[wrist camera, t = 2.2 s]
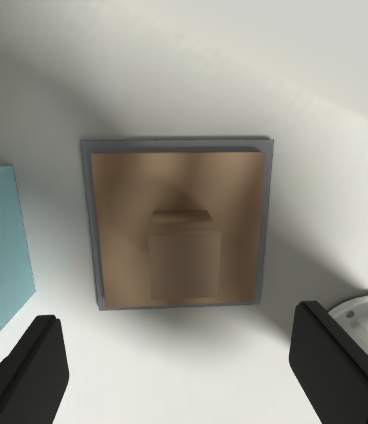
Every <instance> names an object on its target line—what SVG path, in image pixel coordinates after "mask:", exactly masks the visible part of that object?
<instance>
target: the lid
mask: <svg viewBox="0 0 368 424" xmlns="http://www.w3.org/2000/svg"><path fill="white" fill-rule="evenodd" d="M265 156H266V152H178V153H92V154H91V162H92V172H93V182H94V192H95V202H96V212H97V222H98V232H99V242H100V252H101V262H102V271H103V281H104V291H105V301H106V308H115V307H140V306H165V305H190V304H214V303H239V302H254V296H255V283H256V271H257V258H258V245H259V232H260V220H261V207H262V194H263V182H264V169H265Z"/></svg>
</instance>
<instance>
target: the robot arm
mask: <svg viewBox="0 0 368 424" xmlns="http://www.w3.org/2000/svg"><path fill="white" fill-rule="evenodd" d="M289 363H290V367H291V369H292V370H293V372H294V374H295V376H296V378H297V379H298V381H299V383H300V385H301V387H302V388H303V390H304V392H305V394H306V396H307V397H308V399H309V401H310V403H311V405H312V406H313V408H314V410H315V412H316V413H317V415H318V417H319V419H320V421H321V422H322V424H368V296H363V297H358V298H354V299H351V300H349V301H346V302H343V303H342V304H340V305H338V306H336V307H334V308H333V309H332V310H330V311H329V312H327V311H326V310H325V309H324V308H323V307H322V306H321V305H320V304H319V303H318V302H317V301H302V302H300V304H299V305H297V306H296V309H295V316H294V323H293V331H292V338H291V345H290V352H289ZM68 381H69V369H68V363H67V357H66V351H65V345H64V339H63V333H62V327H61V322H60V319H56V317H55V315H39V316H37V317H36V318H35V319H34V320H33V322H32V323H31V324H30V326H29V327H28V329H27V330H26V331H25V333H24V334H23V336H22V337H21V339H20V340H19V341H18V343H17V344H16V346H15V347H14V348H13V350H12V351H11V353H10V354H9V355H8V356H7V357H6V358H4V359H3V360H2V362H1V363H0V424H52V423H53V421H54V418H55V416H56V413H57V410H58V408H59V405H60V403H61V400H62V398H63V395H64V392H65V390H66V387H67V385H68Z"/></svg>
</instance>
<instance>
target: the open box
mask: <svg viewBox="0 0 368 424" xmlns="http://www.w3.org/2000/svg"><path fill="white" fill-rule="evenodd" d="M35 292H36V291H35V285H34V280H33V274H32V269H31V263H30V258H29V252H28V247H27V241H26V236H25V230H24V225H23V219H22V214H21V208H20V203H19V197H18V192H17V186H16V181H15V175H14V170H13V166H0V331H1V330H2V329H3V327H4V326H5V325H6V324H7V323H8V322H9V321H10V320H11V318H12V317H13V316H14V315H15V314H16V313H17V312H18V311H19V310H20V308H21V307H22V306H23V305H24V304H25V303H26V302H27V301H28V299H29V298H30V297H31V296H32V295H33V294H34V293H35Z"/></svg>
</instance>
